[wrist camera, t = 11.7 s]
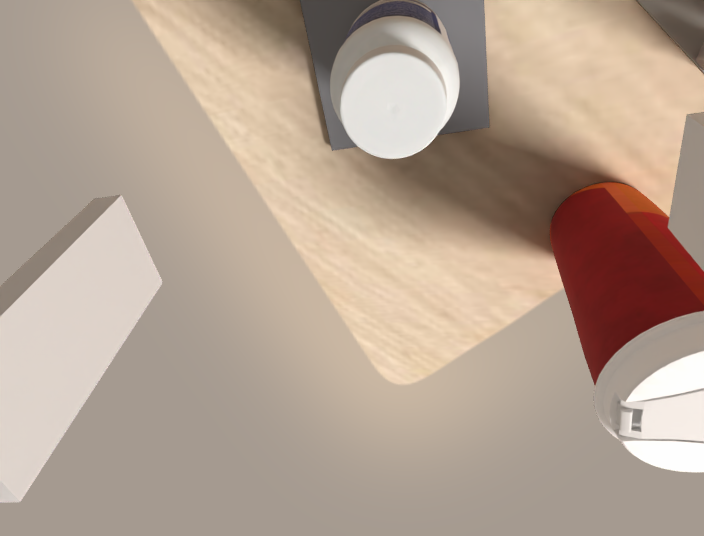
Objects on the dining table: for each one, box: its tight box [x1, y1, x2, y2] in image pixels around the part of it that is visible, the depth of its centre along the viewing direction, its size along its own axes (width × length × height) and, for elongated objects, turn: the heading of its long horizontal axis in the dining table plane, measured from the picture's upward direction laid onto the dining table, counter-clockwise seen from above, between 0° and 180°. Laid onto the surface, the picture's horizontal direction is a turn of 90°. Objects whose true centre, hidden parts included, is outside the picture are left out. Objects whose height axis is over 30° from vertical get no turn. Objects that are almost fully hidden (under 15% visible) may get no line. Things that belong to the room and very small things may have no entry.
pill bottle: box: [330, 0, 460, 159], centre depth 23 cm, size 5×5×10 cm
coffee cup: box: [550, 182, 704, 472], centre depth 26 cm, size 8×8×15 cm
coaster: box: [300, 0, 489, 151], centre depth 28 cm, size 9×9×1 cm
